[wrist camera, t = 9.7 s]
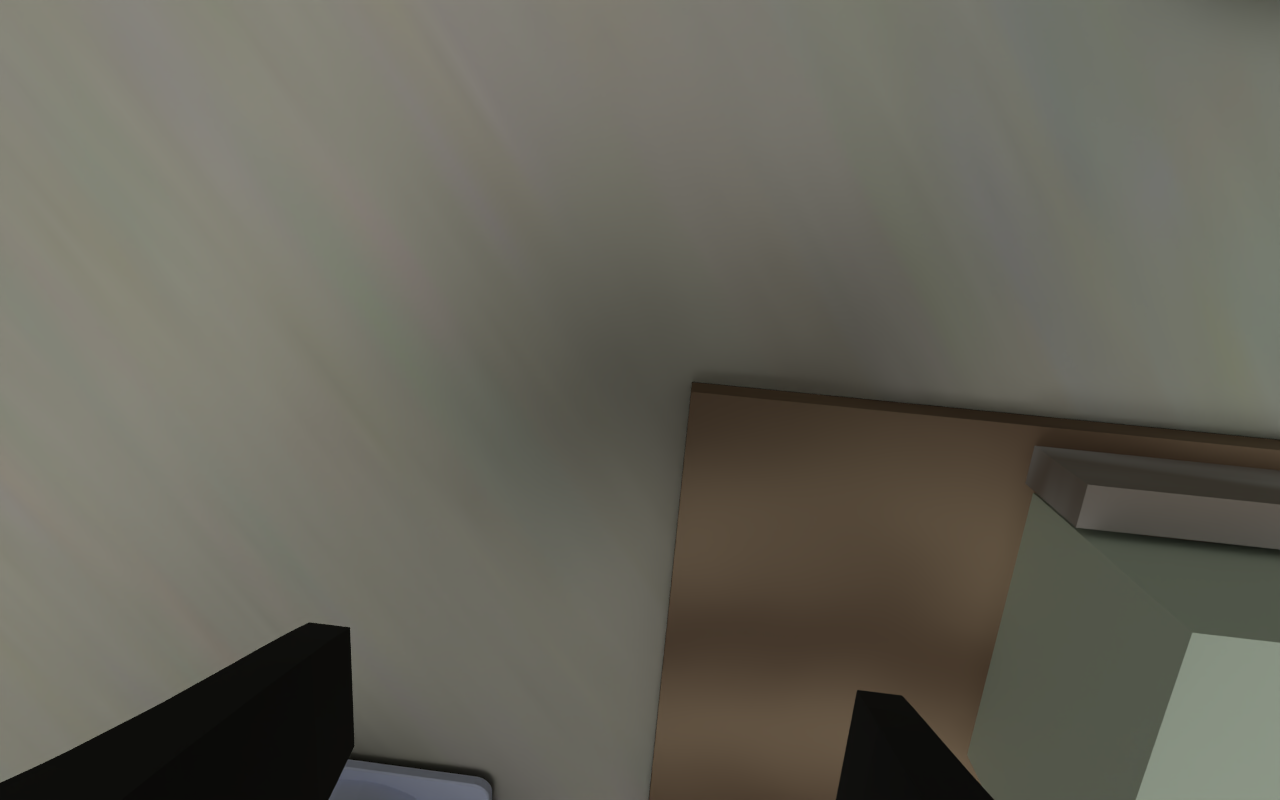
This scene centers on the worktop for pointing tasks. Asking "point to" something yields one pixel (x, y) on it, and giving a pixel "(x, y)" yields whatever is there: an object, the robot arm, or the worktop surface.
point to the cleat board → (887, 564)
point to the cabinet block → (1132, 670)
